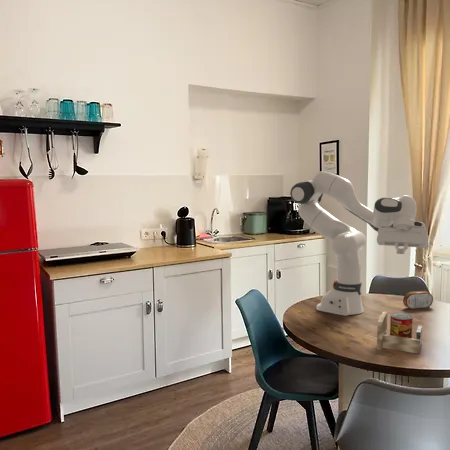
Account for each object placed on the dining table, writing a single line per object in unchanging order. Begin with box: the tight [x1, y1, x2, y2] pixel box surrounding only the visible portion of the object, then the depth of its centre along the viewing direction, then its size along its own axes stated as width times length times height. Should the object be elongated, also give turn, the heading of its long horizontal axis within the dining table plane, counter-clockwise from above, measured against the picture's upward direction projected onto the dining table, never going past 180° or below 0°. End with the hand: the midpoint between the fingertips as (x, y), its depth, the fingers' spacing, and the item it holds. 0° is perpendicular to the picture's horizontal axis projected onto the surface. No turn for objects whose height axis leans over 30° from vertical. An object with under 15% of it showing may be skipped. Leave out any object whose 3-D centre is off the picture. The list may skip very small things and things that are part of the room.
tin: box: [402, 290, 434, 310], centre depth 216 cm, size 15×3×8 cm, turn 100°
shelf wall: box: [376, 310, 421, 354], centre depth 168 cm, size 14×14×11 cm
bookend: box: [415, 325, 423, 349], centre depth 168 cm, size 1×8×7 cm, turn 152°
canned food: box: [389, 312, 414, 339], centre depth 169 cm, size 8×8×12 cm
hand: (400, 253), depth 183 cm, fingers closed
